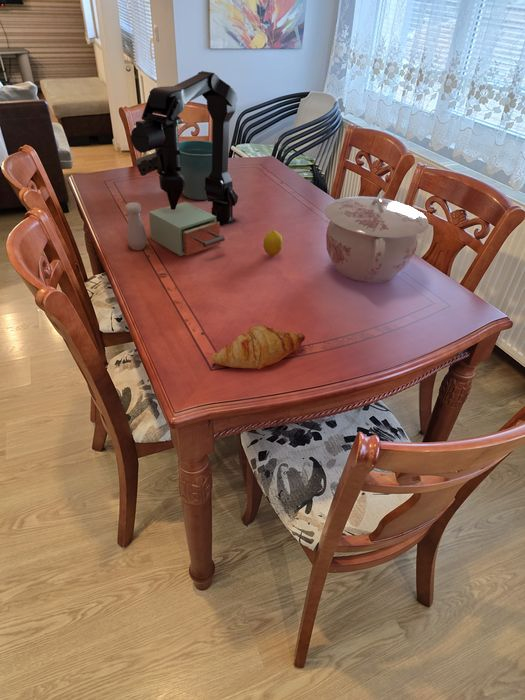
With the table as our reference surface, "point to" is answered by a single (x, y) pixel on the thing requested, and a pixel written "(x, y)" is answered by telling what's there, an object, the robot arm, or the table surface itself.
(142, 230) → the salt shaker
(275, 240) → the lemon
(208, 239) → the drawer
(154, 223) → the pale green box
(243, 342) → the croissant
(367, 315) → the table surface
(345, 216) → the chamber pot
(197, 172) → the flower pot
